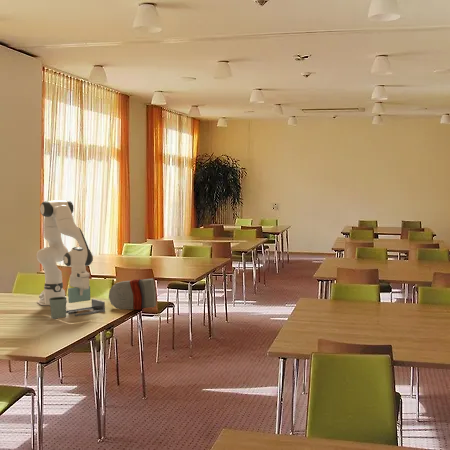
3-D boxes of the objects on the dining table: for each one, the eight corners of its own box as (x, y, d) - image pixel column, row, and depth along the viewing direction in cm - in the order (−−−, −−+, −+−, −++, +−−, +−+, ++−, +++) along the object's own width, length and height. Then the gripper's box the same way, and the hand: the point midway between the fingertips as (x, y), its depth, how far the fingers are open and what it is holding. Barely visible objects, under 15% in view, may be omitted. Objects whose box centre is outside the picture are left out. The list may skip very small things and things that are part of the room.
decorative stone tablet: (154, 277, 425) (109, 281, 428) (152, 278, 418) (106, 283, 422) (157, 306, 426) (112, 310, 429) (155, 308, 420) (109, 312, 423)
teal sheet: (68, 302, 412) (68, 288, 412) (88, 299, 421) (88, 285, 420) (70, 303, 410) (69, 288, 410) (90, 300, 419) (90, 286, 419)
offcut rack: (64, 313, 413) (64, 302, 412) (93, 309, 426) (93, 298, 425) (75, 317, 401) (75, 306, 401) (105, 312, 414) (104, 301, 414)
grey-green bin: (70, 316, 404) (69, 297, 403) (59, 319, 395) (58, 300, 394) (57, 315, 409) (57, 296, 408) (46, 318, 400) (45, 298, 399)
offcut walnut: (76, 313, 411) (76, 310, 411) (92, 311, 414) (92, 309, 414) (77, 314, 407) (77, 311, 407) (93, 312, 411) (93, 310, 411)
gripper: (66, 271, 420) (67, 293, 421) (81, 275, 405) (82, 297, 406) (75, 270, 424) (76, 292, 425) (90, 274, 409) (91, 296, 410)
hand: (79, 294), depth 415 cm, fingers closed on teal sheet, 2 cm apart
